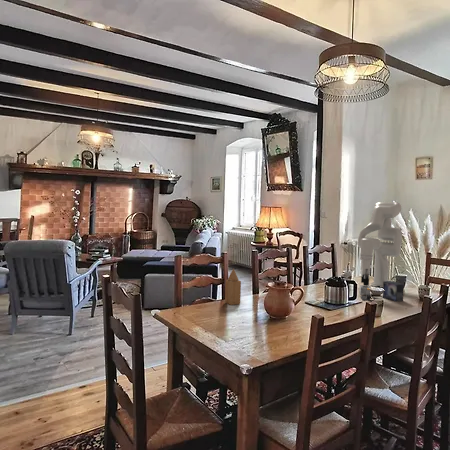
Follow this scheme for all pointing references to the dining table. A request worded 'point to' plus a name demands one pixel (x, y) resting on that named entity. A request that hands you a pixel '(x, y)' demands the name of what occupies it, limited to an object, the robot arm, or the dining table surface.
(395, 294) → the small box
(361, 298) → the keeper
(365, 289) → the link
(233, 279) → the decorative item
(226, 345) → the dining table surface
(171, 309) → the dining table surface
